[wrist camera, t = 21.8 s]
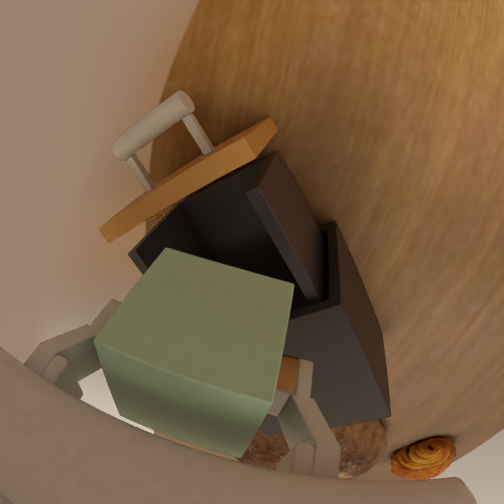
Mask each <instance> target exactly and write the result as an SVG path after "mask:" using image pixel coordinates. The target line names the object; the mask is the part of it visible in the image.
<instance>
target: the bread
mask: <svg viewBox="0 0 504 504" xmlns="http://www.w3.org/2000/svg"><path fill="white" fill-rule="evenodd" d="M331 431H332V433H333V434H334V436H335V438H336V440H337V441H338V443H339V445H340V447H341V451H340V464H339V475H338V479H352V478H354V477H357V476H359V475H361V474H363V473H365V472H366V471H368V470H369V469H370V468H372V467H373V466H374V465H375V464H376V463H377V462H378V461H379V460H380V458H381V457H382V456H383V453H384V451H385V449H386V446H387V436H386V431H385V430H384V428H383V427H382V425H381V424H380V422H379V421H378V420H374V421H369V422H364V423H359V424H354V425H349V426H343V427H337V428H331ZM289 451H290V450H289V447H288V445H287V442H286V439H285V437H284V434H279V435H265V434H264V433H263V432H262V431H260V430H259V429H258V430H257V432H256V434H255V436H254V437H253V439H252V441H251V442H250V444H249V446H248V447H247V449H246V451H245V452H244V454H243V456H242V457H241V458H238V457H236V458H237V459H238V460H239V461H240V462H242V463H246V464H250V465H255V466H259V467H264V468H269V469H274V470H276V467H277V463H278V462H279V461H280V460H281V459H282V458H283V457H284V456H285V455H286V454H287V453H288V452H289Z"/></svg>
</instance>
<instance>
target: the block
mask: <svg viewBox="0 0 504 504" xmlns="http://www.w3.org/2000/svg"><path fill="white" fill-rule="evenodd" d="M293 291H294V284H293V283H289V282H285V281H282V280H278V279H275V278H271V277H267V276H264V275H260V274H257V273H253V272H250V271H246V270H242V269H239V268H235V267H232V266H228V265H225V264H221V263H218V262H214V261H211V260H208V259H204V258H201V257H197V256H194V255H190V254H187V253H184V252H180V251H177V250H173V249H170V248H165V249H164V250H163V251H162V253H161V254H160V255H159V256H158V257H157V259H156V260H155V261H154V262H153V264H152V265H151V266H150V267H149V268H148V270H147V271H146V272H145V273H144V275H143V276H142V277H141V279H140V280H139V281H138V282H137V283H136V285H135V286H134V287H133V288H132V290H131V291H130V292H129V294H128V295H127V296H126V297H125V299H124V300H123V301H122V303H121V304H120V305H119V306H118V308H117V309H116V310H115V312H114V313H113V314H112V316H111V317H110V318H109V320H108V321H107V322H106V324H105V325H104V326H103V328H102V329H101V330H100V332H99V333H98V334H97V336H96V337H95V338H94V344H95V347H96V351H97V354H98V357H99V360H100V363H101V366H102V369H103V372H104V375H105V378H106V380H107V383H108V386H109V389H110V391H111V394H112V397H113V399H114V402H115V404H116V407H117V409H118V411H119V414H120V415H121V416H122V417H125V418H127V419H129V420H131V421H134V422H136V423H138V424H141V425H143V426H145V427H148V428H150V429H153V430H155V431H158V432H160V433H163V434H165V435H168V436H171V437H174V438H176V439H179V440H182V441H185V442H188V443H191V444H194V445H197V446H200V447H203V448H206V449H210V450H213V451H216V452H220V453H223V454H227V455H231V456H234V457H238V458H241V457H242V456H243V454H244V452H245V451H246V449H247V447H248V446H249V444H250V442H251V441H252V439H253V437H254V436H255V434H256V432H257V430H258V429H259V427H260V425H261V423H262V422H263V420H264V418H265V416H266V415H267V413H268V411H269V409H270V407H271V406H272V404H273V401H274V396H275V391H276V386H277V381H278V376H279V370H280V365H281V360H282V354H283V349H284V344H285V338H286V332H287V327H288V321H289V315H290V309H291V303H292V297H293Z"/></svg>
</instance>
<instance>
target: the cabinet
mask: <svg viewBox="0 0 504 504" xmlns="http://www.w3.org/2000/svg"><path fill="white" fill-rule="evenodd" d="M319 228H320V230H321V232H322V235H323V237H324V239H325V241H326V243H327V245H328V266H329V299H328V300H325V301H322V302H319V303H316V304H312V305H309V306H306V307H303V308H299V309H296V310H293V311H290V315H289V321H288V327H287V332H286V338H285V344H284V349H283V354H284V355H288V356H292V357H297V358H299V359H304V360H308V361H312V362H313V374H312V385H311V395H310V398H312V399H314V400H315V402H316V404H317V406H318V407H319V409H320V411H321V413H322V415H323V416H324V418H325V420H326V422H327V424H328V425H329V427H330V429H331V428H337V427H343V426H349V425H354V424H359V423H364V422H369V421H374V420H378V419H383V418H387V417H391V410H390V397H389V386H388V376H387V367H386V358H385V350H384V343H383V336H382V331H381V329H380V326H379V323H378V321H377V318H376V315H375V313H374V310H373V307H372V305H371V302H370V300H369V297H368V295H367V292H366V290H365V287H364V285H363V282H362V280H361V277H360V275H359V273H358V270H357V268H356V265H355V263H354V261H353V258H352V256H351V254H350V252H349V249H348V247H347V245H346V242H345V240H344V238H343V236H342V234H341V231H340V229H339V227H338V225H337V223H336V221H334V222H332V223H329V224H326V225H324V226H321V227H319ZM259 430H260V431H262V432H263V433H264V434H265V435H279V434H283V432H282V429H281V426H280V424H279V421H278V418H277V416H274V415H270V414H267V415H266V416H265V418H264V420H263V422H262V423H261V425H260V427H259Z"/></svg>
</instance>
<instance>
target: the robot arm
mask: <svg viewBox="0 0 504 504" xmlns="http://www.w3.org/2000/svg"><path fill="white" fill-rule="evenodd" d="M120 304H121V302H119V301H117V300H114V299H113V300H111V301H109V303H108V304H107V305H106V306H105V308H104V309H103V310H102V312H101V313H100V314H99V315H98V317H97V318H96V319H95V320H94V321H93V323H92V324H91V325H88V324H87V325H84V326H82V327H79V328H77V329H74V330H72V331H69V332H67V333H64V334H62V335H59V336H57V337H54V338H52V339H49V340H47V341H44V342H42V343H40V344H39V346H38V347H37V348H36V349H35V351H34V352H33V353H32V355H31V356H30V357H29V358H28V360H27V361H26V362H25V364H22V363H21V362H20V361H18V360H17V359H15V358H14V357H13V356H11V355H10V354H9V353H7V352H6V351H5V350H4V349H2V348H1V347H0V504H477V502H476V499H475V498H474V496H473V494H472V493H471V492H470V490H469V489H468V487H467V486H466V485H465V483H464V482H463V481H462V480H461V479H460V478H457V477H449V478H440V479H427V480H406V481H373V480H352V479H338V475H339V464H340V451H341V447H340V445H339V443H338V441H337V440H336V438H335V436H334V434H333V433H332V431H331V429H330V427H329V425H328V424H327V422H326V420H325V418H324V416H323V415H322V413H321V411H320V409H319V407H318V406H317V404H316V402H315V400H314V399H312V398H310V395H311V385H312V374H313V362H312V361H308V360H304V359H299V358H297V357H292V356H288V355H284V354H282V360H281V365H280V370H279V376H278V381H277V386H276V391H275V396H274V401H273V404H272V406H271V407H270V409H269V411H268V413H267V414H270V415H274V416H277V418H278V421H279V424H280V426H281V429H282V432H283V434H284V437H285V439H286V442H287V445H288V447H289V450H290V451H289V452H288V453H287V454H286V455H285V456H284V457H283V458H282V459H281V460H280V461H279V462H278V463H277V467H276V470H274V469H269V468H264V467H259V466H255V465H250V464H246V463H242V462H238V461H234V460H230V459H226V458H223V457H219V456H216V455H212V454H209V453H206V452H202V451H199V450H196V449H193V448H190V447H187V446H184V445H181V444H178V443H176V442H173V441H170V440H167V439H165V438H162V437H159V436H157V435H154V434H152V433H149V432H147V431H144V430H142V429H140V428H137V427H134V426H133V425H130V424H128V423H126V422H124V421H122V420H119V419H117V418H115V417H113V416H111V415H109V414H107V413H105V412H103V411H101V410H99V409H97V408H95V407H93V406H91V405H89V404H88V403H86V402H84V401H82V400H80V399H81V397H82V395H83V392H82V390H81V387H80V385H79V383H78V381H80V380H81V379H83V378H85V377H87V376H88V375H90V374H92V373H94V372H95V371H97V370H99V369H100V368H102V366H101V363H100V360H99V357H98V354H97V351H96V347H95V344H94V338H95V337H96V336H97V334H98V333H99V332H100V330H101V329H102V328H103V326H104V325H105V324H106V322H107V321H108V320H109V318H110V317H111V316H112V314H113V313H114V312H115V310H116V309H117V308H118V306H119V305H120Z"/></svg>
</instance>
